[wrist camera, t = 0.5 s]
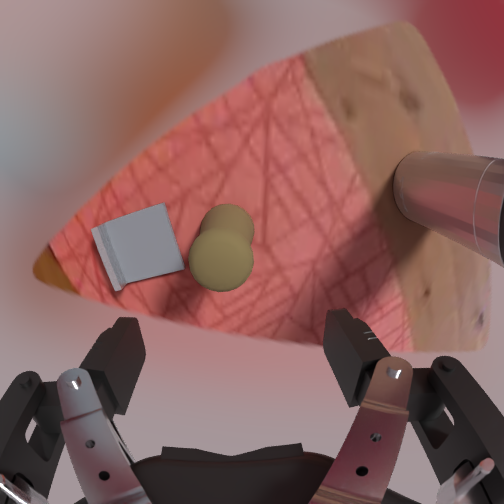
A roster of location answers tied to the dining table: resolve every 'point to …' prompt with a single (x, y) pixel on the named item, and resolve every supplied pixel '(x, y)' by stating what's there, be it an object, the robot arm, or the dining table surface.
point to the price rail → (109, 256)
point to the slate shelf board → (145, 243)
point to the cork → (223, 249)
